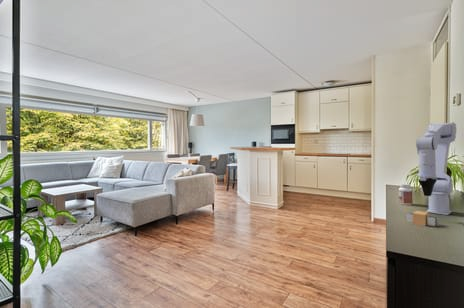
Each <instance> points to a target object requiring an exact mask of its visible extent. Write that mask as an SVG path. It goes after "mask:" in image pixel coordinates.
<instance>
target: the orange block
mask: <svg viewBox="0 0 464 308" xmlns="http://www.w3.org/2000/svg"><path fill="white" fill-rule="evenodd" d="M412 213H413V222H412V225H418V226H422V227H423V226H424V227H425V226H428V225H427V217H429V216H430V212H426V211H421V210H415V211H414V212H412Z"/></svg>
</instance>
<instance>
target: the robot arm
mask: <svg viewBox="0 0 464 308" xmlns="http://www.w3.org/2000/svg"><path fill="white" fill-rule="evenodd" d="M456 135H457V125H456V123H455V122H454V121H452V122H444V123H430V124H429V125H428V129H427V132H425V134H424V135H423V136H422V137H419V138H417V139H416V142H415V143H416V144H415V146H416V151H417V155H418V173H416V174H415V176H416V177H419V178H418V183H419V184H420V186H421V188H422V194H423V196H424V197H428V209H426V210H425V212H429V214H430V213H431V214H439V215H445V216H448V215H449V214H451V213H452V212H453V210H450V197H449V195H451V194H452V193H453V191H454V180H453V179H452V177H451V176H450V175H448V174H447V166H448V159H449V149H450V146H451V143H453V142H455V141H456V137H457V136H456Z"/></svg>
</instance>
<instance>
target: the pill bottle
mask: <svg viewBox="0 0 464 308" xmlns="http://www.w3.org/2000/svg"><path fill="white" fill-rule="evenodd" d="M398 203H399V204H400V205H403V206H412V205H413V189H412V188H411V184H410V183H400V184H399V188H398Z"/></svg>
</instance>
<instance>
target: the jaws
mask: <svg viewBox="0 0 464 308" xmlns="http://www.w3.org/2000/svg"><path fill="white" fill-rule="evenodd" d="M411 213H413V212H411V211H409V212H407V213H405V215H404V221H405V222H407V223H413V214H411ZM429 216H433V217H434V218H433V217H427V225H426V226H431V227H436V226H437V227H439V226H440V219H439V218H438V217H439V216H437V215H432V214H431V215H430V214H429Z"/></svg>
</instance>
